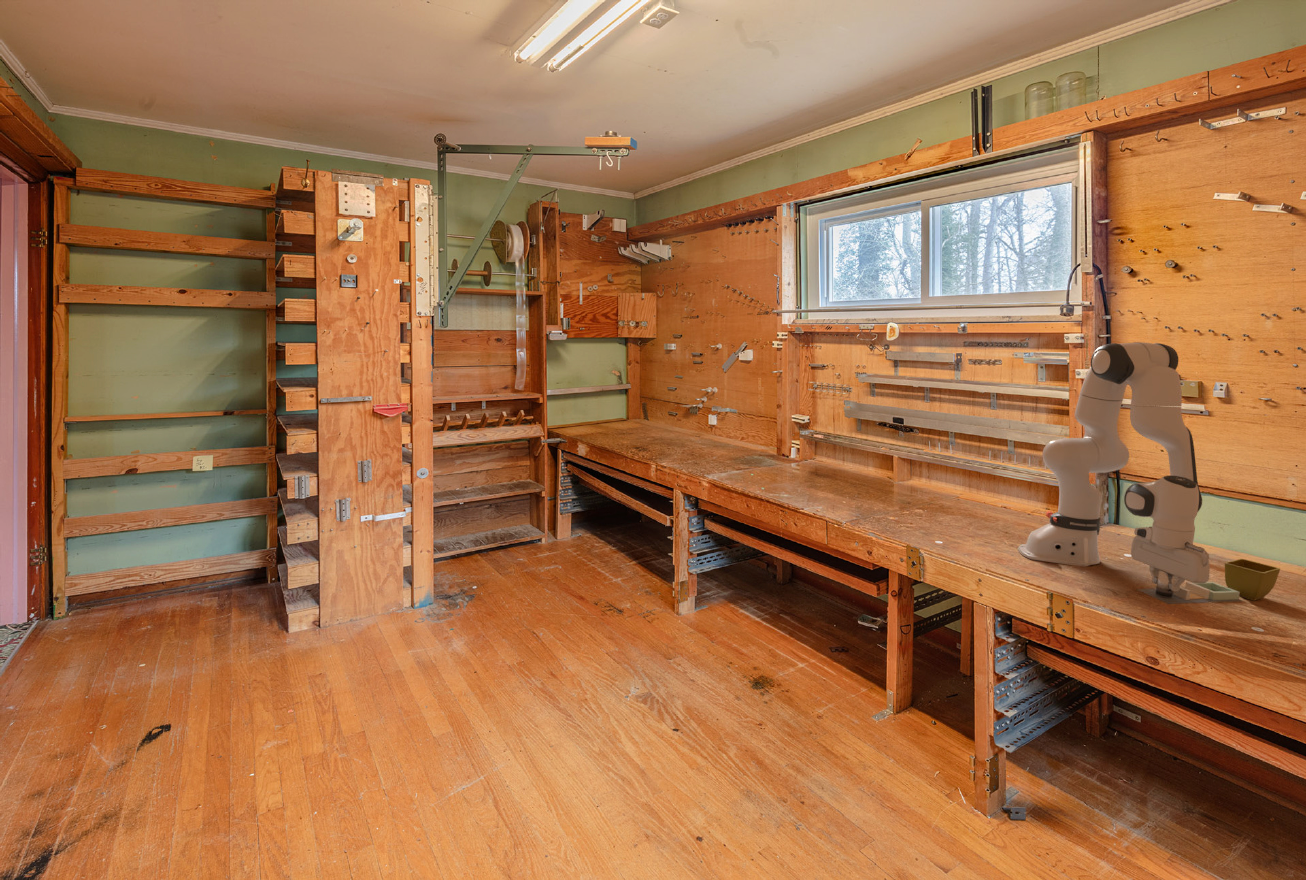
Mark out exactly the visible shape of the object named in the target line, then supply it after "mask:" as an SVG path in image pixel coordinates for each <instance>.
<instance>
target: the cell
mask: <svg viewBox="0 0 1306 880" xmlns="http://www.w3.org/2000/svg"><path fill="white" fill-rule="evenodd" d="M1173 577H1174V575H1172V574H1170V573H1167V572H1165V571H1162V570H1160V569H1159V571H1158V578H1157V584H1156V587H1155V589H1156V592H1155V595H1156V596H1159V597H1162V598H1168V599H1170V598H1172V596H1173V591H1171V590H1169V589H1168V587H1169V583H1173V582H1174V581H1175V579H1173Z"/></svg>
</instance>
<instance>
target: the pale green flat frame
mask: <svg viewBox="0 0 1306 880" xmlns="http://www.w3.org/2000/svg"><path fill="white" fill-rule="evenodd" d="M1191 583H1192V582H1191ZM1193 584H1196V585H1198V586H1201V587H1203V588H1206V589H1208V590H1210V594H1209V599H1212V600H1232V599H1239V600H1240V596H1239V594H1240V592H1238V591H1236V590H1233V589H1230V588H1228V587H1227V586H1224V585H1223V584H1220V583H1217V582H1214V581H1207V582H1206V583H1193ZM1212 590H1213V591H1212Z"/></svg>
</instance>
